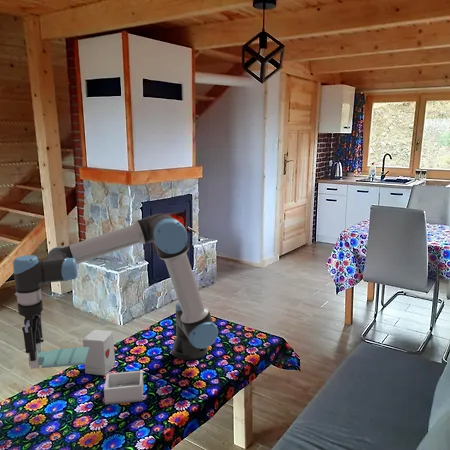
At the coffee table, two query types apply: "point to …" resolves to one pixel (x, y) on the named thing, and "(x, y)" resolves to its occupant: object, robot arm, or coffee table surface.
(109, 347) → the supplement box
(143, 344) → the coffee table surface
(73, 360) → the lid
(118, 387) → the tub
